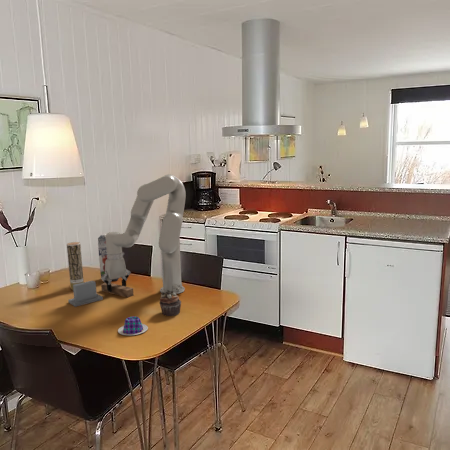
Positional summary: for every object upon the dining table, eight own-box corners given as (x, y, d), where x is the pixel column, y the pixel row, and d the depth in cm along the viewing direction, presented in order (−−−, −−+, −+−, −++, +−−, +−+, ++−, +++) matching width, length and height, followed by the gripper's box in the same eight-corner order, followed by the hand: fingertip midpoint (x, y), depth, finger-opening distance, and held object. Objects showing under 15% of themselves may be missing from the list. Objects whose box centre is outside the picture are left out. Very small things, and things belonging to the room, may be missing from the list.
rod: (133, 295, 219) (133, 288, 219) (127, 298, 216) (127, 290, 215) (107, 289, 231) (107, 282, 230) (101, 291, 228) (101, 284, 227)
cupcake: (175, 317, 188) (174, 295, 186) (156, 315, 191) (155, 293, 190) (185, 310, 197) (184, 289, 195) (166, 307, 200) (165, 287, 198)
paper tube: (80, 291, 228) (75, 244, 224) (68, 290, 229) (64, 244, 225) (86, 287, 235) (82, 242, 230) (75, 286, 236) (71, 241, 232)
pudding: (149, 324, 182) (149, 312, 181) (146, 336, 170) (145, 323, 170) (121, 325, 182) (120, 313, 181) (115, 337, 170) (114, 325, 169)
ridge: (102, 299, 214) (101, 282, 212) (75, 306, 205) (73, 288, 203) (95, 295, 220) (94, 278, 218) (68, 302, 211) (67, 284, 209)
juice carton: (102, 277, 252) (99, 232, 247) (121, 276, 253) (118, 231, 248) (100, 282, 243) (96, 235, 238) (119, 281, 244) (115, 234, 239)
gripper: (126, 252, 228) (128, 284, 231) (95, 258, 217) (98, 291, 220) (133, 254, 223) (135, 287, 226) (102, 260, 212) (104, 295, 215)
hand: (117, 289), depth 223 cm, fingers open, 7 cm apart
